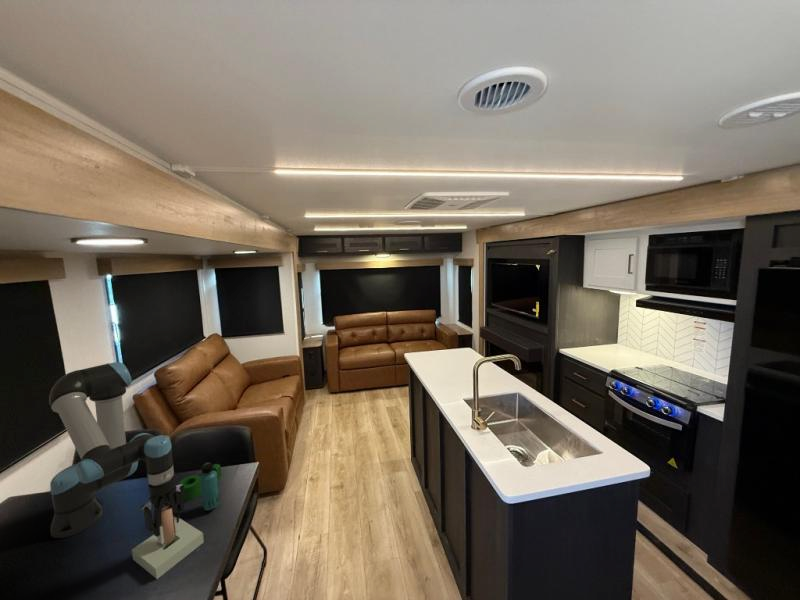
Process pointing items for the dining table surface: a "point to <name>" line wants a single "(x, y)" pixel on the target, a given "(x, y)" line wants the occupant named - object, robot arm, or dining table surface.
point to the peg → (167, 524)
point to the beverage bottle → (209, 487)
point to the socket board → (167, 550)
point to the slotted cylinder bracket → (196, 484)
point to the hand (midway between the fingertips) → (168, 536)
